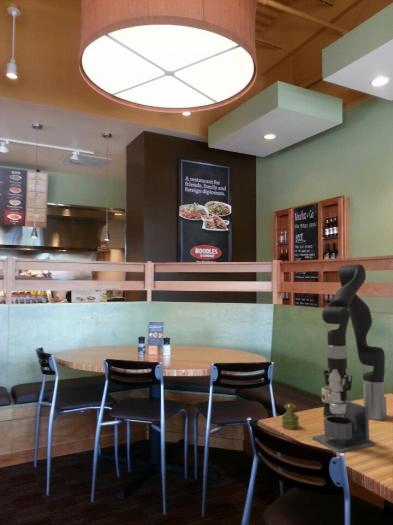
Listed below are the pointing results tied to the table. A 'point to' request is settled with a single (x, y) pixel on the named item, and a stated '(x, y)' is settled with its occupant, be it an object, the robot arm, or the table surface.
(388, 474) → the table surface
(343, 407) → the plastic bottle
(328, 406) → the character mug
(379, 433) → the table surface
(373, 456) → the table surface
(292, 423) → the brass knob
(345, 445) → the cup bracket
